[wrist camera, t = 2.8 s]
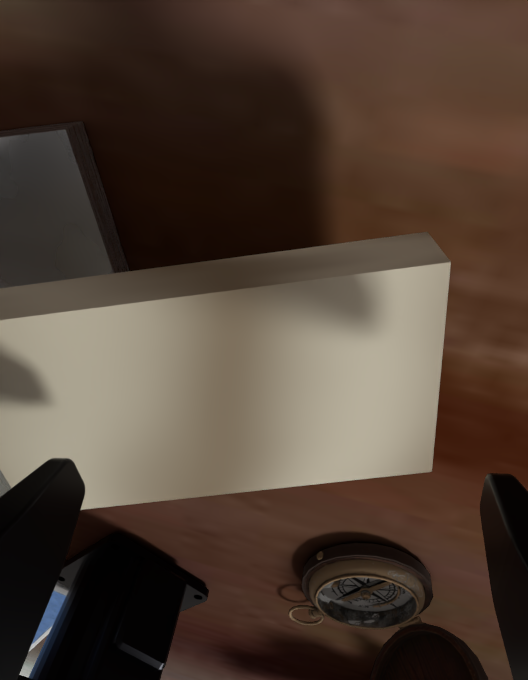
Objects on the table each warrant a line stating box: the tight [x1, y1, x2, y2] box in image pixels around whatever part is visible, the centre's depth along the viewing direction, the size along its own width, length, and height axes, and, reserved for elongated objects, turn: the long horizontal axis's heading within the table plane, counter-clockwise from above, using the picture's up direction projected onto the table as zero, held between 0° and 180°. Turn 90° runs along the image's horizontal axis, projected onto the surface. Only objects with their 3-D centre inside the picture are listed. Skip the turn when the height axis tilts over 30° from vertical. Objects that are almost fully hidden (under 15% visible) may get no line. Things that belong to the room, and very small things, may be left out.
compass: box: [288, 543, 488, 680], centre depth 22 cm, size 8×8×7 cm
